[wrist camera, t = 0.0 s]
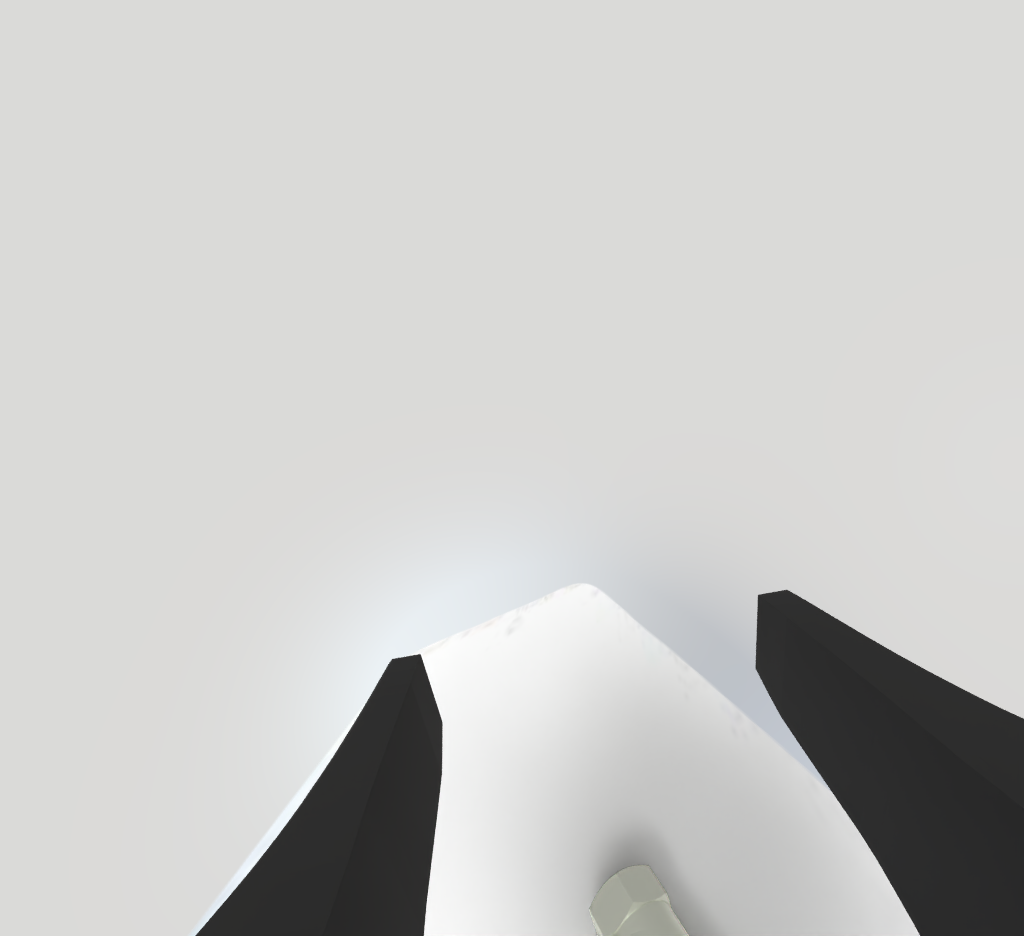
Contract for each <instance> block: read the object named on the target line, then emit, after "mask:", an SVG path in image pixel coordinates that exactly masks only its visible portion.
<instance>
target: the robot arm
mask: <svg viewBox="0 0 1024 936" xmlns="http://www.w3.org/2000/svg"><path fill="white" fill-rule="evenodd" d="M757 615H758V616H757V642H756V670H757V672H758V673H759V676H760V678H761V680H762V682H763V684H764V685H765V688H766V690H767V691H768V693H769V695H770V697H771V699H772V701H773V703H774V704H775V706H776V708H777V710H778V712H779V714H780V715H781V717H782V719H783V720H784V722H785V723H786V725H787V726H788V728H789V729H790V731H791V732H792V734H793V735H794V736H795V738H796V740H797V741H798V743H799V744H800V746H801V747H802V749H803V750H804V751H805V753H806V754H807V756H808V757H809V759H810V760H811V762H812V763H813V765H814V766H815V768H816V769H817V771H818V772H819V773H820V775H821V776H822V778H823V779H824V781H825V782H826V784H827V785H828V787H829V788H830V790H831V791H832V792H833V794H834V795H835V797H836V798H837V800H838V801H839V803H840V804H841V806H842V807H843V809H844V810H845V811H846V813H847V814H848V816H849V817H850V819H851V820H852V822H853V823H854V825H855V826H856V828H857V829H858V831H859V832H860V834H861V835H862V837H863V838H864V840H865V841H866V843H867V845H868V846H869V848H870V849H871V851H872V852H873V854H874V856H875V857H876V859H877V860H878V862H879V864H880V866H881V867H882V869H883V871H884V873H885V874H886V876H887V878H888V880H889V881H890V883H891V885H892V887H893V888H894V890H895V892H896V894H897V895H898V897H899V899H900V901H901V902H902V904H903V906H904V908H905V909H906V911H907V913H908V914H909V916H910V918H911V920H912V921H913V923H914V925H915V927H916V929H917V930H918V932H919V934H920V936H1024V719H1023V718H1021V717H1019V716H1016V715H1014V714H1012V713H1010V712H1008V711H1006V710H1003V709H1001V708H999V707H997V706H995V705H993V704H991V703H989V702H987V701H985V700H983V699H981V698H979V697H977V696H975V695H973V694H971V693H969V692H967V691H965V690H963V689H961V688H959V687H957V686H955V685H954V684H952V683H949V682H948V681H946V680H944V679H942V678H940V677H938V676H936V675H934V674H932V673H931V672H929V671H927V670H925V669H923V668H921V667H920V666H918V665H916V664H914V663H912V662H910V661H909V660H907V659H905V658H903V657H901V656H900V655H898V654H896V653H894V652H892V651H891V650H889V649H887V648H885V647H884V646H882V645H880V644H879V643H877V642H875V641H873V640H872V639H870V638H868V637H866V636H865V635H863V634H861V633H860V632H858V631H856V630H855V629H853V628H851V627H849V626H848V625H846V624H844V623H843V622H841V621H839V620H838V619H836V618H834V617H833V616H831V615H829V614H828V613H826V612H824V611H823V610H821V609H819V608H818V607H816V606H814V605H812V604H811V603H809V602H807V601H806V600H804V599H802V598H801V597H799V596H797V595H795V594H793V593H792V592H790V591H788V590H784V591H778V592H772V593H766V594H761V595H758V612H757ZM441 777H442V720H441V717H440V713H439V710H438V707H437V704H436V701H435V698H434V695H433V691H432V688H431V685H430V682H429V679H428V676H427V673H426V670H425V666H424V663H423V660H422V657H421V654H419V655H413V656H407V657H402V658H396V659H392V660H391V662H390V663H389V664H388V666H387V668H386V670H385V672H384V673H383V675H382V677H381V679H380V680H379V682H378V684H377V685H376V687H375V689H374V691H373V692H372V694H371V696H370V697H369V699H368V701H367V703H366V704H365V706H364V708H363V709H362V711H361V713H360V714H359V716H358V718H357V719H356V721H355V723H354V724H353V726H352V727H351V729H350V731H349V732H348V734H347V736H346V737H345V739H344V740H343V742H342V744H341V745H340V747H339V748H338V750H337V752H336V753H335V755H334V756H333V758H332V759H331V761H330V762H329V764H328V765H327V767H326V768H325V770H324V771H323V773H322V774H321V776H320V777H319V779H318V780H317V782H316V783H315V785H314V786H313V787H312V789H311V790H310V792H309V793H308V795H307V796H306V798H305V799H304V801H303V802H302V804H301V805H300V806H299V808H298V809H297V811H296V812H295V813H294V815H293V816H292V817H291V819H290V820H289V822H288V823H287V824H286V826H285V827H284V828H283V830H282V831H281V832H280V834H279V835H278V836H277V838H276V839H275V840H274V842H273V843H272V844H271V845H270V847H269V848H268V849H267V851H266V852H265V853H264V854H263V856H262V857H261V858H260V860H259V861H258V862H257V863H256V865H255V866H254V867H253V868H252V870H251V871H250V872H249V873H248V874H247V876H246V877H245V878H244V879H243V880H242V882H241V883H240V884H239V885H238V886H237V888H236V889H235V890H234V891H233V892H232V894H231V895H230V896H229V897H228V898H227V900H226V901H225V902H224V903H223V904H222V906H221V907H220V908H219V909H218V910H217V911H216V913H215V914H214V915H213V916H212V917H211V918H210V920H209V921H208V922H207V923H206V924H205V925H204V926H203V928H202V929H201V930H200V931H199V932H198V933H197V935H196V936H424V926H425V914H426V903H427V895H428V886H429V878H430V870H431V861H432V853H433V845H434V837H435V828H436V820H437V812H438V803H439V794H440V786H441Z"/></svg>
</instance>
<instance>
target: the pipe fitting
mask: <svg viewBox="0 0 1024 936" xmlns="http://www.w3.org/2000/svg"><path fill="white" fill-rule="evenodd" d="M589 910H590V914H591V918H592V921H593V924H594V927H595V929H596V932H597V935H598V936H689V935H688V933H687V932H686V930H685V929H684V927H683V926H682V924H681V923H680V921H679V919H678V918H677V916H676V915H675V913H674V912H673V910H672V908H671V904H670V901H669V898H668V895H667V892H666V891H665V889H664V888H663V886H662V885H661V883H660V882H659V880H658V879H657V877H656V876H655V874H654V873H653V871H652V870H651V868H650V867H649V866H647V865H637V866H630V867H627V868H625V869H622V870H621V871H619V872H617V873H616V874H614V875H613V876H612V877H611V878H610V879H608V880H607V881H606V882H605V883H604V885H603V886H602V887H601V888H600V890H599V891H598V893H597V894H596V896H595V898H594V900H593V902H592V904H591V906H590V908H589Z"/></svg>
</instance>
